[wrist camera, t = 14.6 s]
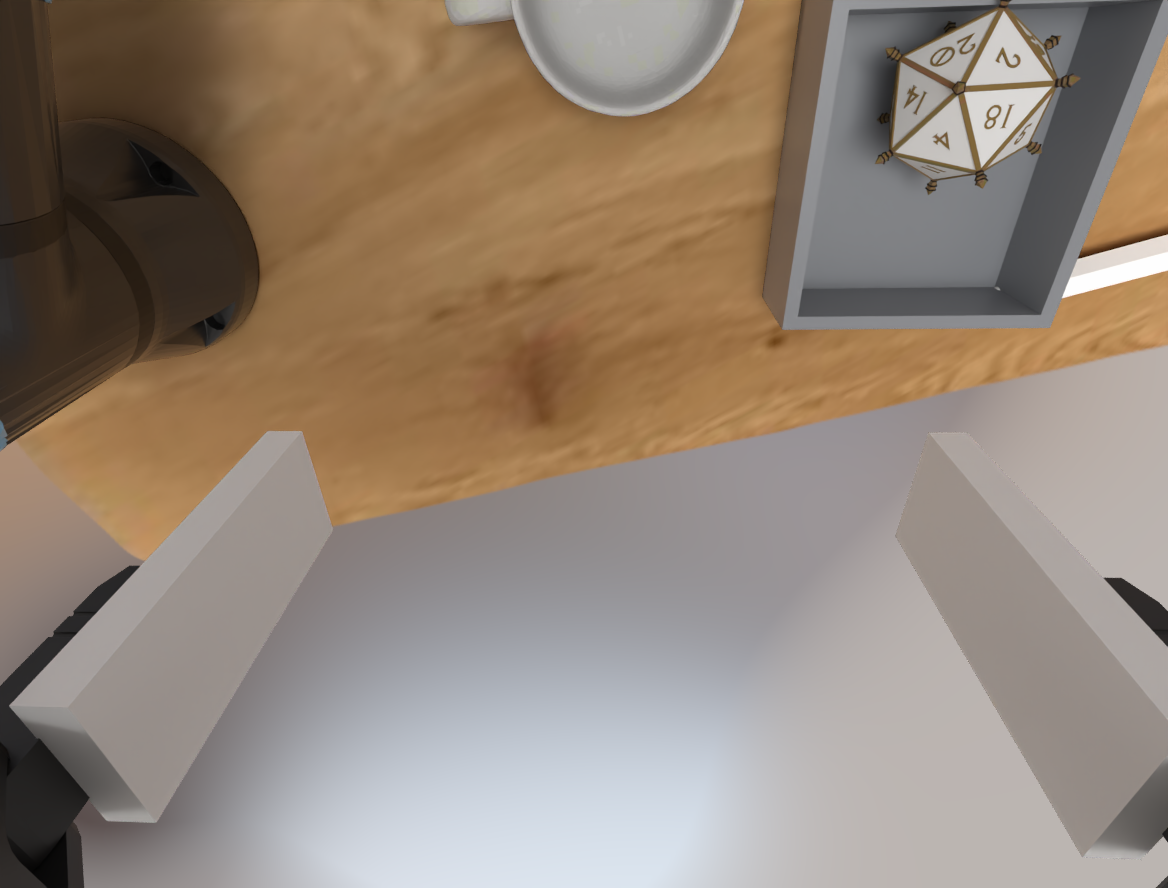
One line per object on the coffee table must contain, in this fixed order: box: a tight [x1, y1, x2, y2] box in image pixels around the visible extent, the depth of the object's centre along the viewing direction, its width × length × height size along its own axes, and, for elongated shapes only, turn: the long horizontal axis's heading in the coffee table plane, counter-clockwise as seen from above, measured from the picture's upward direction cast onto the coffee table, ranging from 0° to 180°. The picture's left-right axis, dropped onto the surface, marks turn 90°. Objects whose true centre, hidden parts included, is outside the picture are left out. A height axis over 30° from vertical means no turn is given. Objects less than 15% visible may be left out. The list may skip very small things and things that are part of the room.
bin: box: [762, 0, 1168, 330], centre depth 35 cm, size 16×17×6 cm
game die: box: [875, 0, 1081, 195], centre depth 31 cm, size 9×8×10 cm
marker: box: [994, 235, 1168, 298], centre depth 39 cm, size 3×2×16 cm
